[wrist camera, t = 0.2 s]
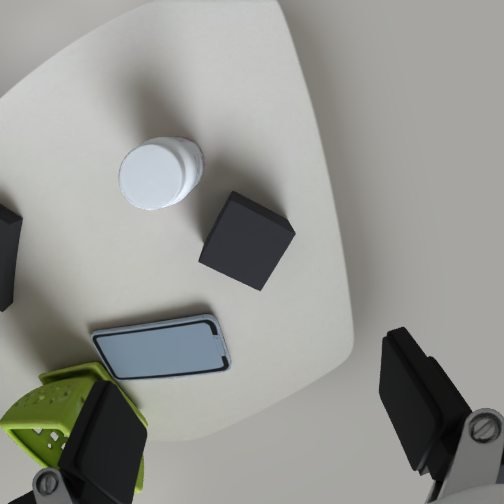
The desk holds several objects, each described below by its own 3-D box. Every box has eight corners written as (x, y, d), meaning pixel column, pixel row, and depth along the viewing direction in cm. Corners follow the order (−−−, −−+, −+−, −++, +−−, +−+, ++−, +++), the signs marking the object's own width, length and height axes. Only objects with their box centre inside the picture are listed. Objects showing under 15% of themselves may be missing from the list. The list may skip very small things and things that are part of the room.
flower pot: (162, 418, 35) (145, 495, 24) (92, 426, 37) (68, 488, 25) (100, 342, 31) (56, 424, 19) (35, 361, 32) (-7, 423, 20)
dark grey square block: (203, 244, 27) (197, 262, 23) (232, 190, 25) (230, 199, 22) (257, 271, 28) (260, 291, 24) (288, 219, 26) (296, 233, 23)
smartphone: (87, 333, 29) (214, 315, 28) (90, 329, 30) (215, 310, 29) (115, 381, 32) (233, 371, 31) (117, 376, 33) (233, 365, 32)
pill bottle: (140, 166, 24) (97, 179, 16) (177, 125, 23) (148, 119, 15) (177, 203, 26) (151, 232, 18) (217, 164, 25) (205, 176, 17)
